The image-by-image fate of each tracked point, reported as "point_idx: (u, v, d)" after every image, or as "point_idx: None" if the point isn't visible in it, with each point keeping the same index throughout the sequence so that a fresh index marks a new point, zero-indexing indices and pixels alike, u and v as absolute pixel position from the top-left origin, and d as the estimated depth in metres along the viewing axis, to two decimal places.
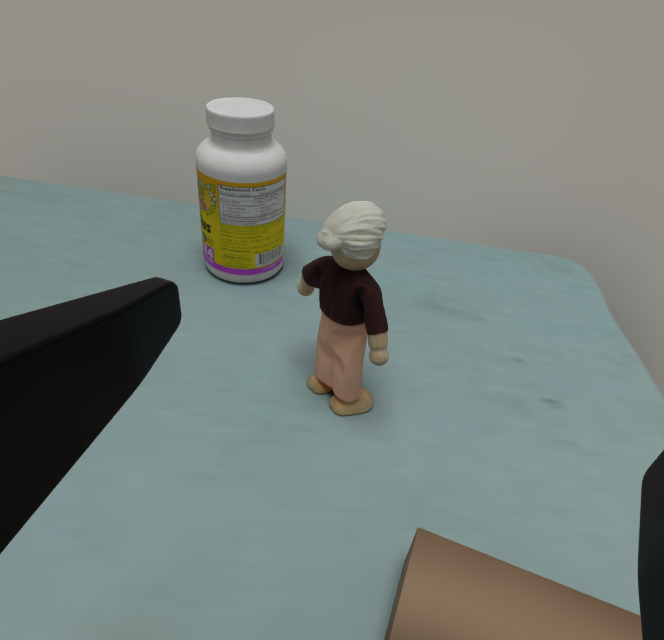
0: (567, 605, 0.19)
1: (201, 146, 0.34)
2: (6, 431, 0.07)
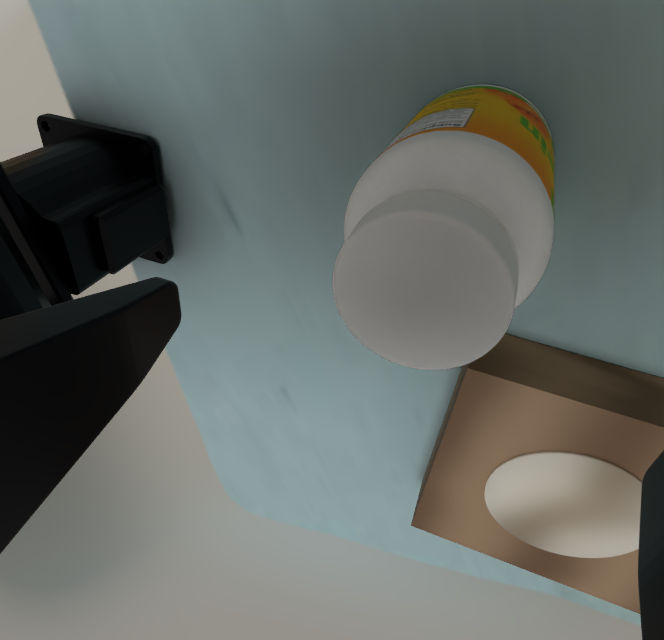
0: None
1: None
2: (6, 431, 0.07)
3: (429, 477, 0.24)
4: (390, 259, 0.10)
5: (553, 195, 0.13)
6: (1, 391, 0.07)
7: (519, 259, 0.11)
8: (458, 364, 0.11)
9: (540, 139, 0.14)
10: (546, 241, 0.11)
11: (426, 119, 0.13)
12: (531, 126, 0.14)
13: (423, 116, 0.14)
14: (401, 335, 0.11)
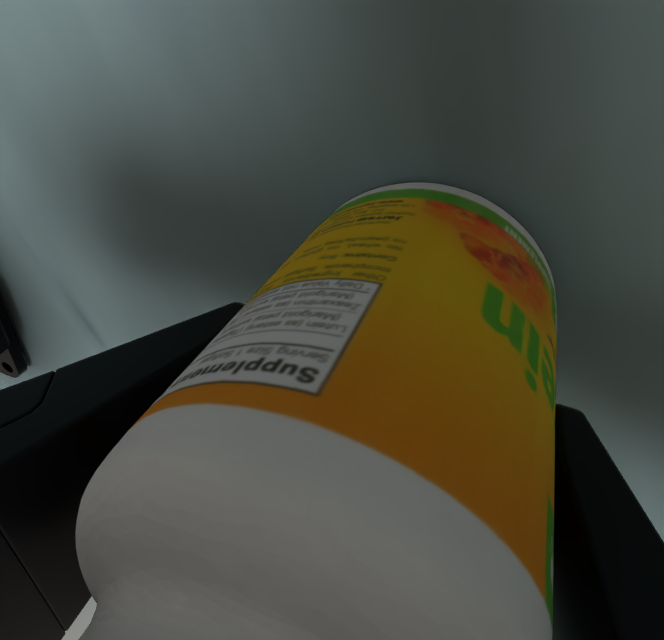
0: None
1: None
2: None
3: None
4: None
5: (552, 505, 0.05)
6: (106, 435, 0.06)
7: None
8: None
9: (526, 341, 0.06)
10: None
11: (276, 305, 0.06)
12: (507, 310, 0.06)
13: (286, 280, 0.07)
14: None
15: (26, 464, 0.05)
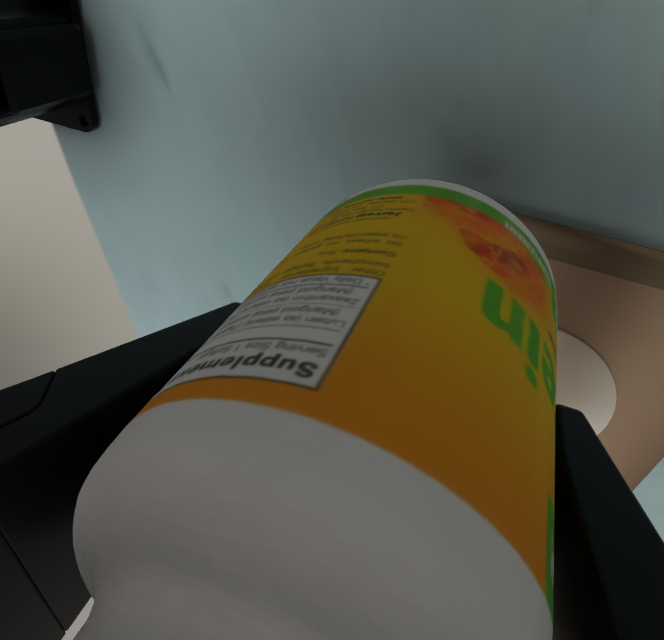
0: (651, 440, 0.19)
1: None
2: None
3: None
4: None
5: (552, 501, 0.05)
6: (106, 435, 0.06)
7: None
8: None
9: (526, 337, 0.06)
10: None
11: (274, 301, 0.06)
12: (507, 306, 0.06)
13: (284, 276, 0.07)
14: None
15: (26, 464, 0.05)
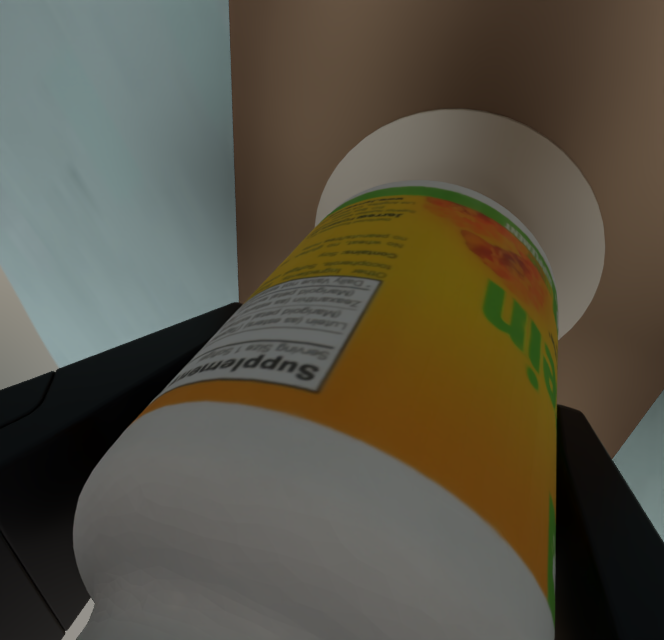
0: None
1: None
2: None
3: (238, 246, 0.14)
4: None
5: (554, 504, 0.05)
6: (105, 435, 0.06)
7: None
8: None
9: (527, 339, 0.06)
10: None
11: (275, 303, 0.06)
12: (509, 308, 0.06)
13: (285, 277, 0.07)
14: None
15: (26, 464, 0.05)
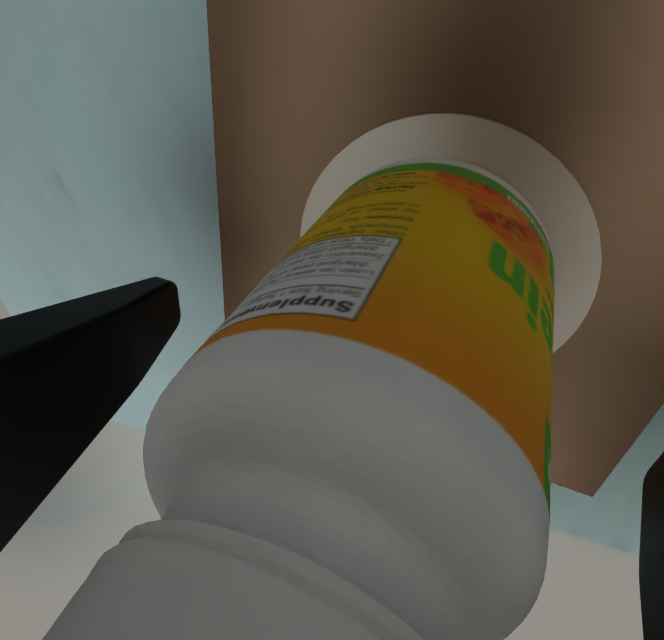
0: None
1: None
2: (5, 431, 0.07)
3: (223, 254, 0.14)
4: None
5: (549, 424, 0.06)
6: (0, 391, 0.07)
7: (470, 625, 0.05)
8: None
9: (527, 290, 0.07)
10: (530, 586, 0.05)
11: (309, 258, 0.07)
12: (510, 264, 0.07)
13: (314, 239, 0.08)
14: None
15: None
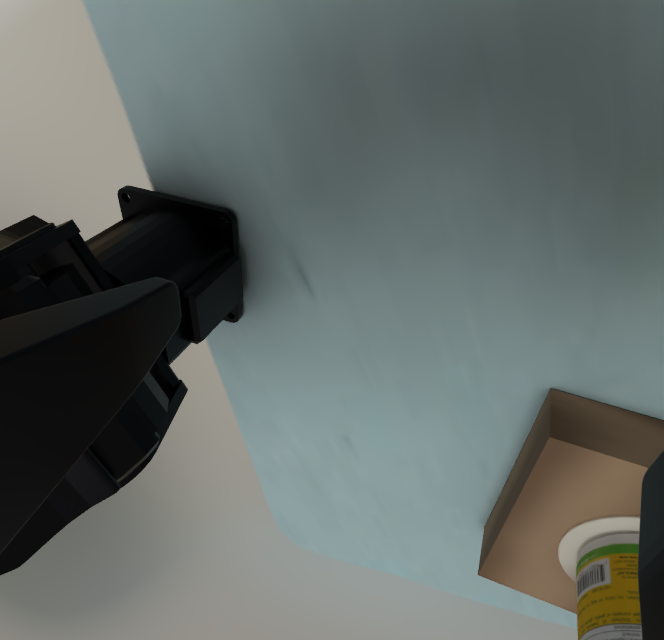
0: None
1: None
2: (6, 431, 0.07)
3: (500, 532, 0.24)
4: None
5: None
6: (1, 391, 0.07)
7: None
8: None
9: None
10: None
11: None
12: None
13: (638, 619, 0.18)
14: None
15: None
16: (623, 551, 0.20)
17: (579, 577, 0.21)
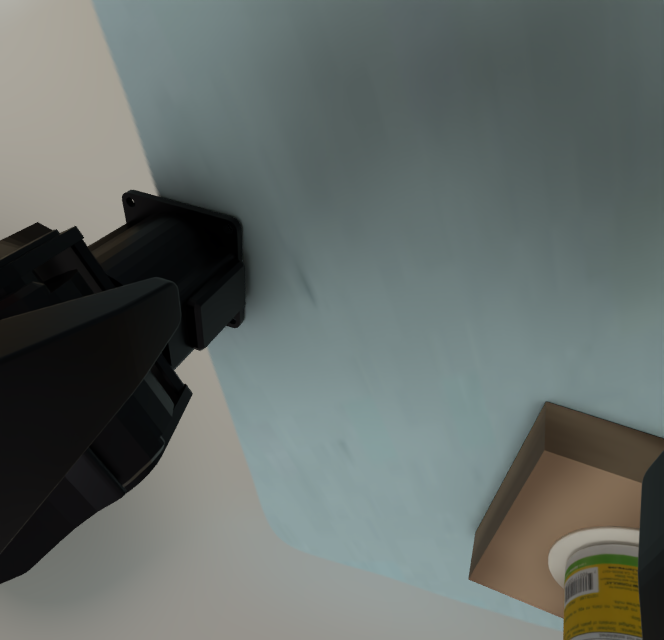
0: None
1: None
2: (6, 431, 0.07)
3: (492, 539, 0.25)
4: None
5: None
6: (1, 391, 0.07)
7: None
8: None
9: None
10: None
11: None
12: None
13: (622, 629, 0.19)
14: None
15: None
16: (612, 561, 0.21)
17: (567, 583, 0.22)
